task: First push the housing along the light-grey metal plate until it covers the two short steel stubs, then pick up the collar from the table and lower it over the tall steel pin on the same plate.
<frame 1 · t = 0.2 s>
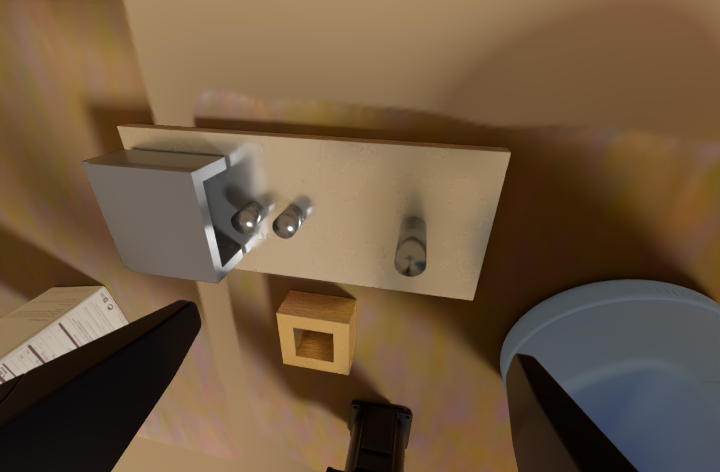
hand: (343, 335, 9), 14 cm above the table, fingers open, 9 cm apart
housing: (170, 216, 22), point 3 cm above the table, slide at 6.5 cm
supplement box: (98, 310, 35), on the table
water jug: (601, 351, 25), on the table
pin plate: (306, 209, 24), on the table
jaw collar: (323, 320, 29), on the table
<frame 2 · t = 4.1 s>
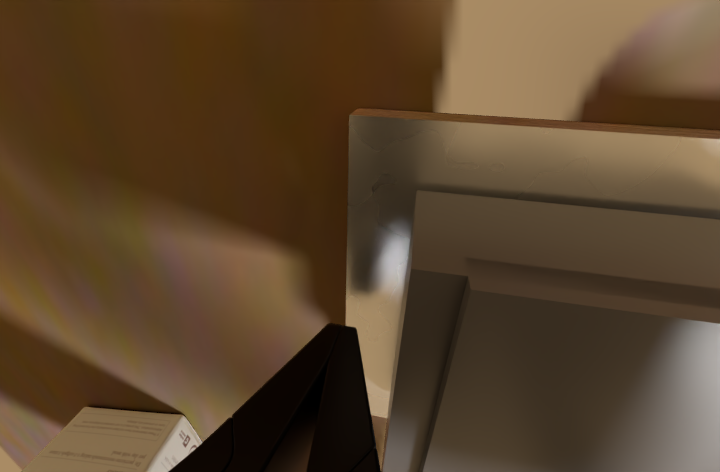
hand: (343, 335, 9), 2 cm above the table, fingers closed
housing: (565, 398, 7), point 3 cm above the table, slide at 5.0 cm, touching gripper
supplement box: (163, 440, 20), on the table
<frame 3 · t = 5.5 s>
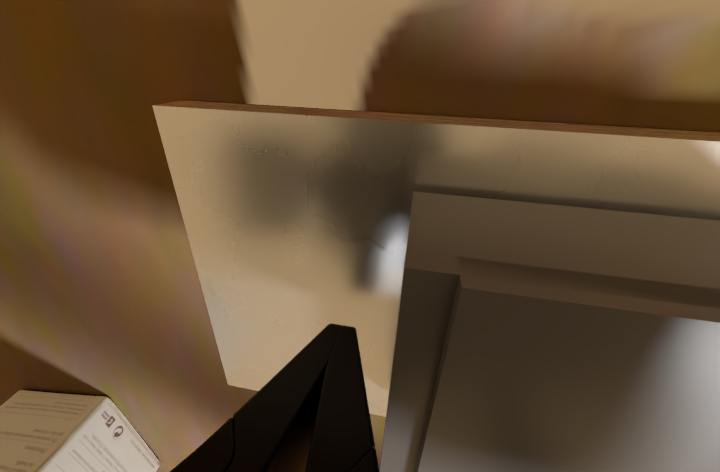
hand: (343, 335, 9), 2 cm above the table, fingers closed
housing: (559, 396, 7), point 3 cm above the table, slide at 0.0 cm, touching gripper
supplement box: (98, 423, 21), on the table
pin plate: (604, 315, 10), on the table
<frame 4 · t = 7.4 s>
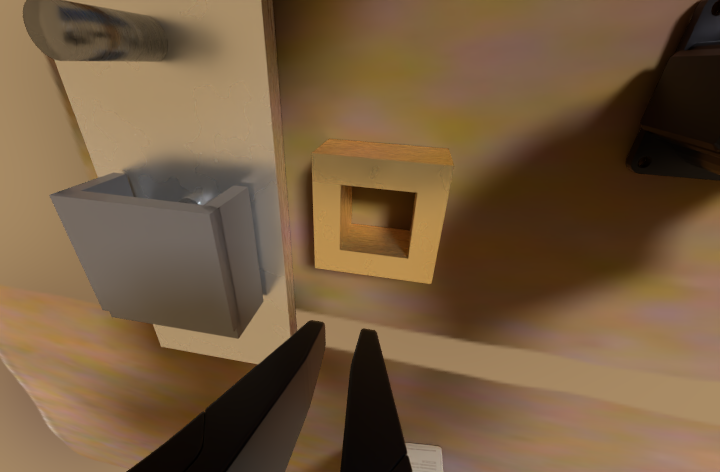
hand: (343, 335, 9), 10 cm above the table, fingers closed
housing: (174, 257, 17), point 3 cm above the table, slide at 0.0 cm
supplement box: (403, 460, 30), on the table
pin plate: (201, 195, 19), on the table
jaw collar: (382, 199, 17), on the table
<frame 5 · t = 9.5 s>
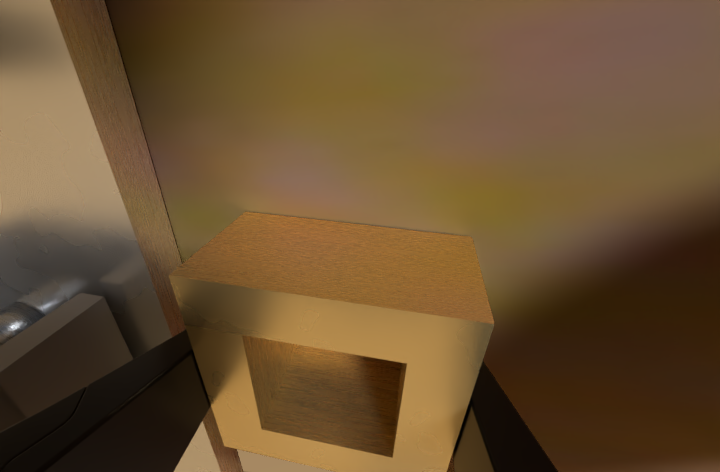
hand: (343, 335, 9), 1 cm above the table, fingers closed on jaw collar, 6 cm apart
pin plate: (61, 287, 12), on the table
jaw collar: (350, 310, 10), on the table, touching gripper
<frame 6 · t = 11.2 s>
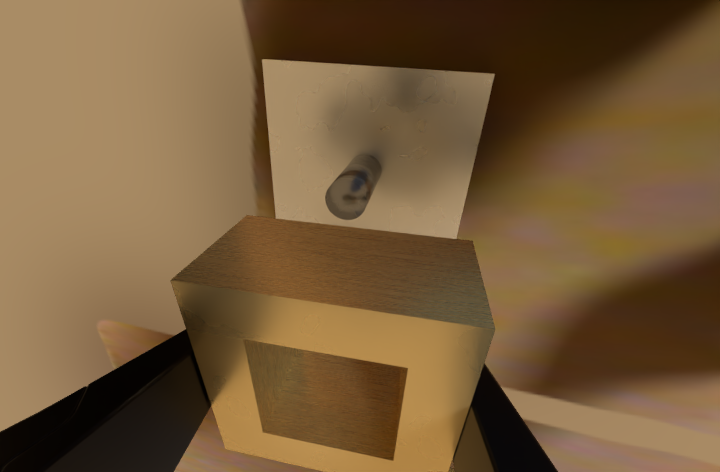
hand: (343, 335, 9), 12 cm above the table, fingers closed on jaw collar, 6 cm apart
pin plate: (361, 276, 22), on the table
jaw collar: (351, 313, 10), point 11 cm above the table, touching gripper
when the fingers open (3 cm above the table, at t = 13.2 s): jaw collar drops 1 cm, resting on pin plate.
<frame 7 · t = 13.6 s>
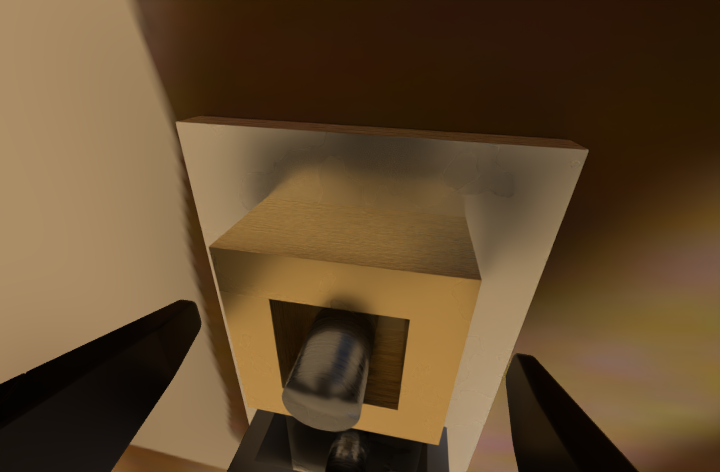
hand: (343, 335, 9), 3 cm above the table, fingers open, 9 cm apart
pin plate: (357, 398, 16), on the table
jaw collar: (358, 287, 11), point 1 cm above the table, touching pin plate
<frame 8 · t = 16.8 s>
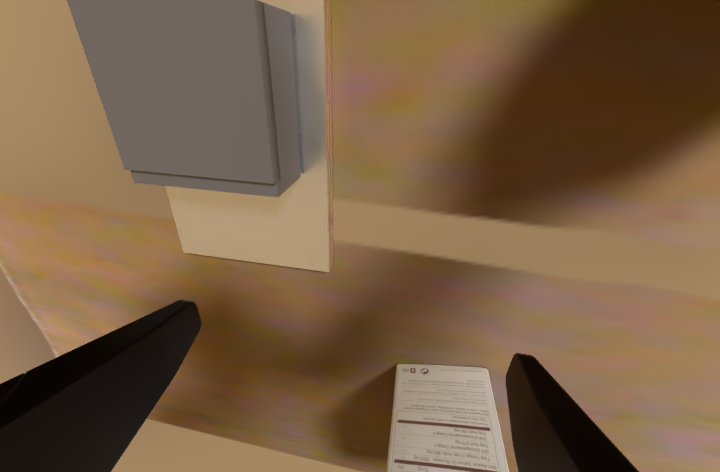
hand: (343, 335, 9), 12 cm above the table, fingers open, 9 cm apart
housing: (205, 103, 15), point 3 cm above the table, slide at 0.0 cm
supplement box: (442, 390, 27), on the table
pin plate: (232, 49, 17), on the table
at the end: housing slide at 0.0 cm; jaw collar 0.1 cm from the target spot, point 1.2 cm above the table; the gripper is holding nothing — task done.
